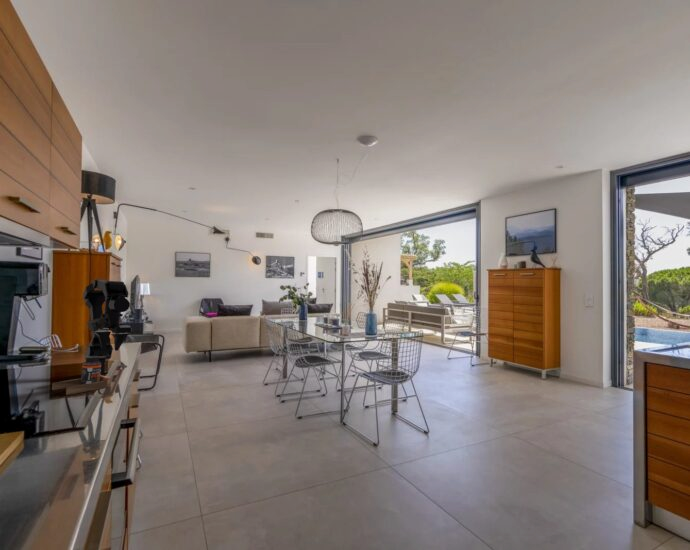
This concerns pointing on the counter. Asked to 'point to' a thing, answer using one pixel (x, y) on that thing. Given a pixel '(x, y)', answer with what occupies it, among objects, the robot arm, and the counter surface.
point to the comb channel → (76, 386)
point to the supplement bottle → (91, 370)
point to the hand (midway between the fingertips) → (109, 349)
